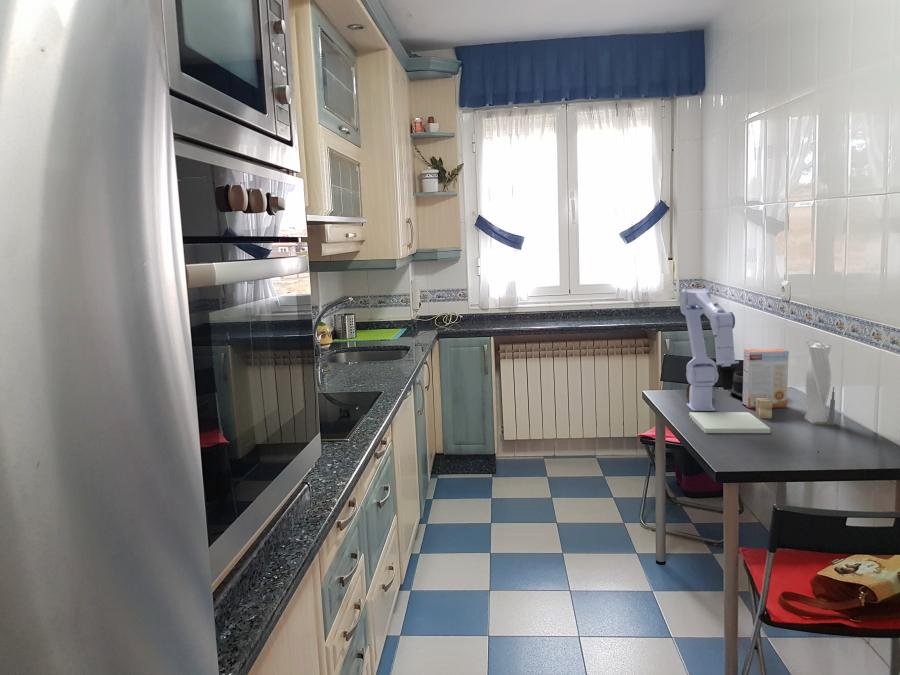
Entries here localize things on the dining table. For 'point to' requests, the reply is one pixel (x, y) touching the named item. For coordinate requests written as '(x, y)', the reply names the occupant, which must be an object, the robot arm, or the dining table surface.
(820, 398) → the skyscraper
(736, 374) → the casserole
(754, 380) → the cracker box
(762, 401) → the pine block
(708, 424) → the board
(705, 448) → the dining table surface
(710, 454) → the dining table surface
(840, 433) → the dining table surface
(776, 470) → the dining table surface
